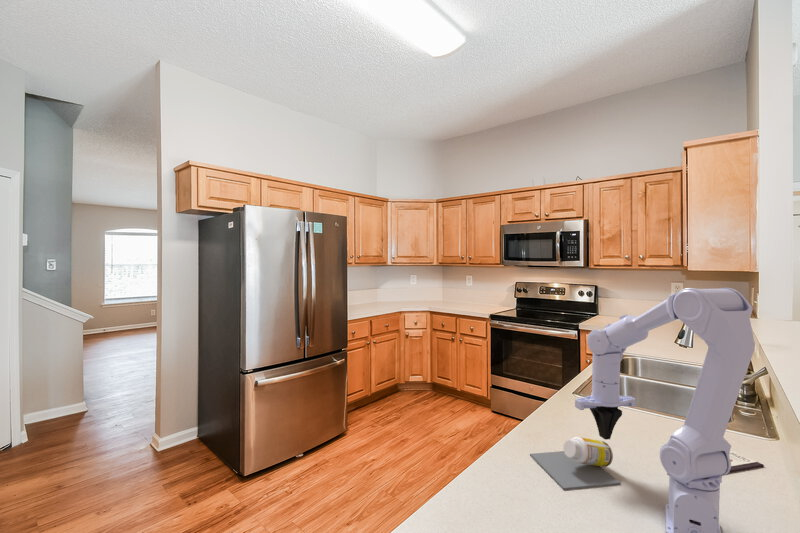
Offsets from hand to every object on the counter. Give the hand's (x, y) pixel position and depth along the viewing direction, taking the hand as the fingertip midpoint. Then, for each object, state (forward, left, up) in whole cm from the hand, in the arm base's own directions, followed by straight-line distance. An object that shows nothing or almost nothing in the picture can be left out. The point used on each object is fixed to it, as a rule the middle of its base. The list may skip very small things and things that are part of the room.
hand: (604, 437), depth 87 cm
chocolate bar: (+19, -22, -8) cm, 30 cm away
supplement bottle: (0, 0, -4) cm, 4 cm away
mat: (-6, +6, -7) cm, 11 cm away
